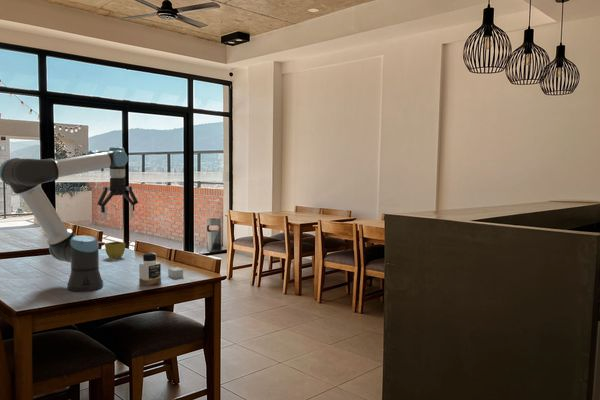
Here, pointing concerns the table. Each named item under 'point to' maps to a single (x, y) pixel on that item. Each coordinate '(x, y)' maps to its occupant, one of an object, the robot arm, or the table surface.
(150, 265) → the medicine bottle
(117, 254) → the flower pot
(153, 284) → the pedestal
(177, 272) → the grey junction box
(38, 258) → the table surface
